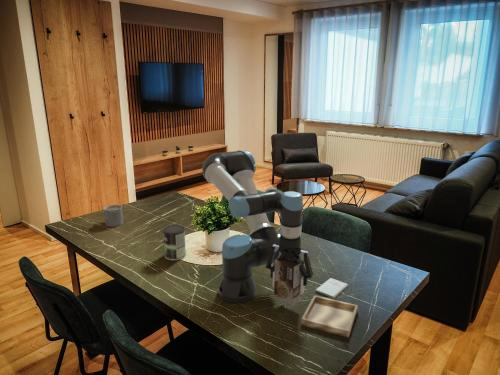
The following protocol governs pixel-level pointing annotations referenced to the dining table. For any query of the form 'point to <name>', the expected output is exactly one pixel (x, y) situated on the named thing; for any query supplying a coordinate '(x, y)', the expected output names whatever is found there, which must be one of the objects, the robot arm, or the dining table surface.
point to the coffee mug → (113, 215)
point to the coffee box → (287, 281)
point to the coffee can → (174, 242)
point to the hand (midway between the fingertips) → (288, 289)
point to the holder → (330, 316)
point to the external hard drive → (331, 288)
